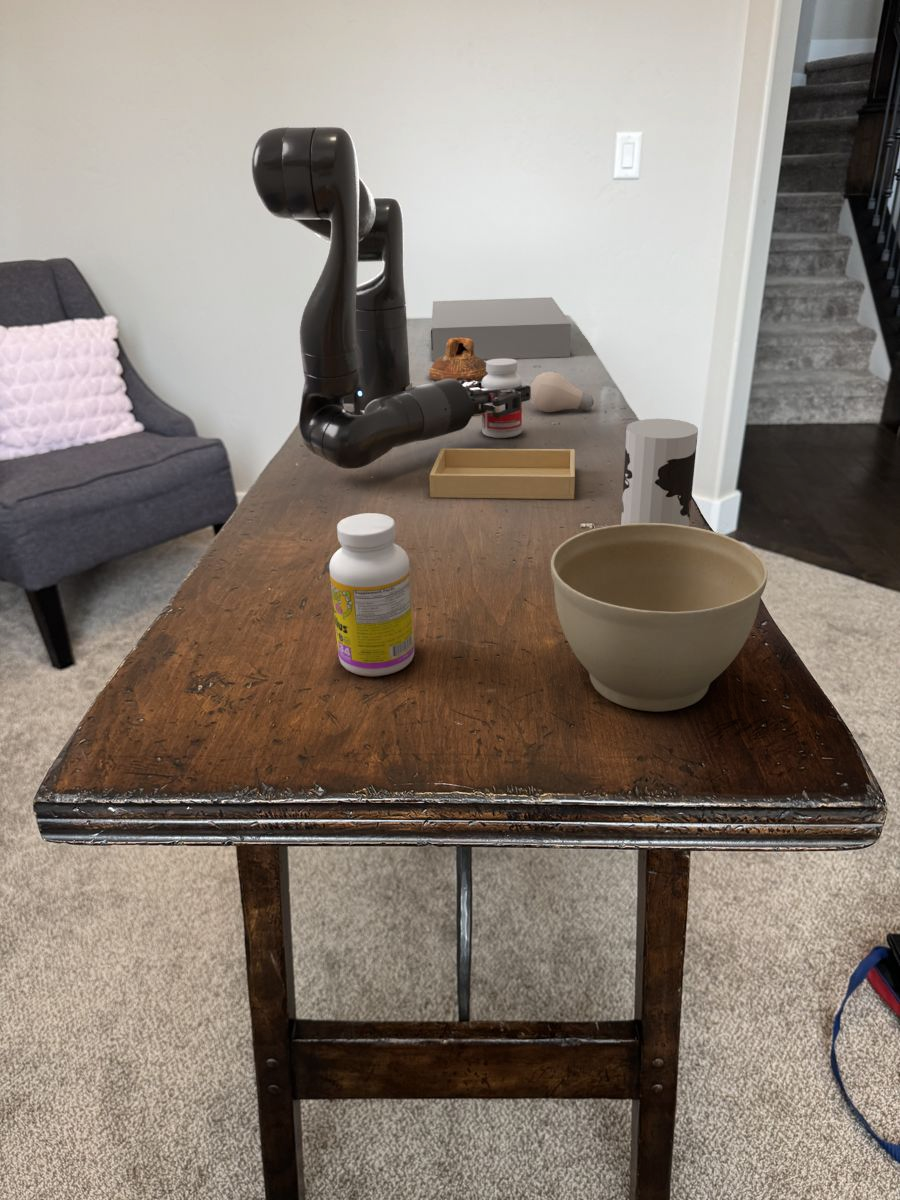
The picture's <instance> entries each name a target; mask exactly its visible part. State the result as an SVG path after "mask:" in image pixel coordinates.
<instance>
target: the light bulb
mask: <svg viewBox="0 0 900 1200" xmlns="http://www.w3.org/2000/svg"><path fill="white" fill-rule="evenodd" d="M529 386H530V387H531V397H530V401H531V404H532V405H533V406H534V407H535V408H536V410H538V411H541V412H543V413H554V412H558V411H563V410H577V409H578V410H581V411H585V412H588V411H589V410H590V409H591V408H593V406H594V404H595V403H594V402H595V401H594V400H595V399H594V397H593V394H590V393H587V392H582V390H581V389H580V388H577V387H575V386H573V385H572V384H571V383H570V382H568V380H566V378H564V377H563V376H562V375H561V374H559V373H556V372H555V371H554V372H553V371H546V372H542V373H539V375H537V376H536V377H534V379H533V380H532V382H531V384H530V385H529Z"/></svg>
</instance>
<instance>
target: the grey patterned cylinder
mask: <svg viewBox="0 0 900 1200" xmlns="http://www.w3.org/2000/svg"><path fill="white" fill-rule="evenodd" d="M625 433H626V434H625V451H624V465H623V467H624V468H623V481H622V483H623V484H622V485H623V486H622V499H621V501H622V502H621V504H622V505H621V516H620V517H621V518H620V525H622V524H631V523H665V524H676V525H683V526H689V527H690V519H691V508H692V496H693V486H694V475H695V466H696V455H697V446H698V435H699V427H697V426H696V425H695V424H694V423H690V422H688V421H685V420H680V419H672V418H647V419H646V418H645V419H639V420H635V421H632V422H630V423H628V424H627V425H626V432H625Z"/></svg>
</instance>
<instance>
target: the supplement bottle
mask: <svg viewBox="0 0 900 1200" xmlns="http://www.w3.org/2000/svg"><path fill="white" fill-rule="evenodd" d="M336 532H337V540H338V542H339V544H340V546H341V547H340V548H338V549H337V551H335V552H334V553H333V555H332V556H331V558H330V561H329V564H328V567H329V569H328V570H329V580H330V588H331V597H332V607H333V608H332V609H333V619H334V628H335V637H336V645H337V654H338V659H339V662H340V664H341V666H343V668H344V669H345V670H347V671H348V672H350V673H352V674H355V675H358V676H363V677H381V676H388V675H391V674H395V673H397V672H399V671H401V670H404V669H405V668H406V667H407V666H408V665H409V664H410V663H411V662H412V661H413V658H414V656H415V633H414V632H415V631H414V620H413V604H412V603H413V602H412V586H411V572H410V571H411V570H410V559H409V556H408V553H407V552H406V550H405V549H404V548H403V547H401V546H400V545H398V544H396V543H395V539H396V536H397V533H396V532H397V531H396V524H395V520H394V518H392V517H391V516H389V515H387V514H383V513H377V512H376V513H374V512H366V513H365V512H364V513H358V514H353V515H350V516H347V517H344V518H343V519H341V520H340V521H339V522H338V523H337V525H336Z"/></svg>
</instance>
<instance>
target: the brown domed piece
mask: <svg viewBox="0 0 900 1200" xmlns="http://www.w3.org/2000/svg"><path fill="white" fill-rule="evenodd" d="M446 349H447V350H446V355H445V356H442V357H440V358H439V359H437V360H436V361H433V363H432V365H431V366H430V368H429V372H428V376H429V378H430V380H433V381H434V382H437V381H441V380H445V379H454V380H457V381H462V380H465V381H467V382H472V381H476V382H480V381H482V379H483V378H484V377H485V376H486V375H488V372H487V371H486V361H485V360H481V359H480V358H478V357H476V356H475V354H474V342H473V341H472V340H471V339H468V338H451V339H449V340H448V342H447V344H446Z"/></svg>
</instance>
